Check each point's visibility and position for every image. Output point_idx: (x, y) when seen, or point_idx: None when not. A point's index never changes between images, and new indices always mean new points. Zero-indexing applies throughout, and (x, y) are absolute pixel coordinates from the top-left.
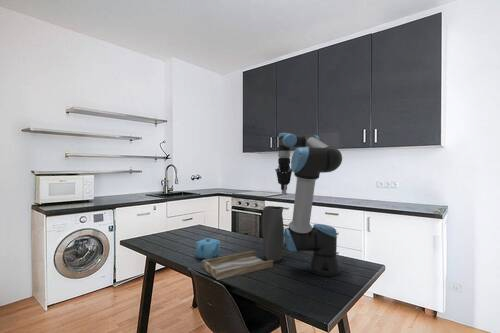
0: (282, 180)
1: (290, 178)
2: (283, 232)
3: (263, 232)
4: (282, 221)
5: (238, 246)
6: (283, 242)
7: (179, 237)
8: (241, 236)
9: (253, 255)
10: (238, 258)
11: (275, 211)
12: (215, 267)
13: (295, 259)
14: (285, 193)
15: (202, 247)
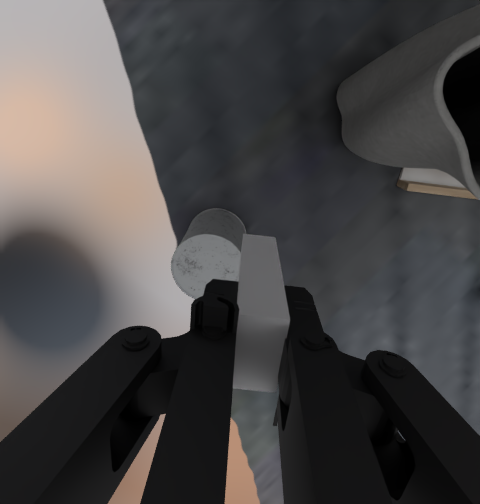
0: (355, 429)
1: (9, 437)
2: (400, 43)
3: (467, 140)
4: (472, 7)
5: (346, 310)
6: (202, 215)
7: None
8: (249, 392)
9: (408, 181)
10: None
11: None
12: None
13: (294, 46)
14: (258, 243)
15: None
